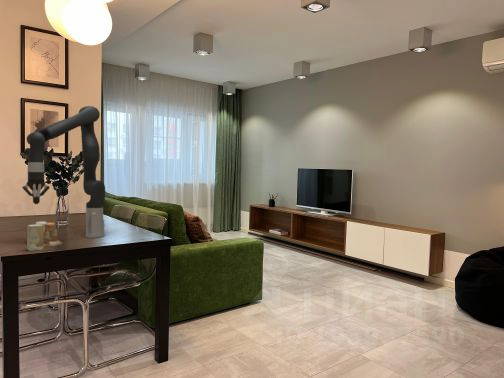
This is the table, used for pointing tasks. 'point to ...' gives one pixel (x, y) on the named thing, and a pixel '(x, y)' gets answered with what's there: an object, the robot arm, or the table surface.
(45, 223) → the white plug
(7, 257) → the table surface
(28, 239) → the skincare box
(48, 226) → the rust plug
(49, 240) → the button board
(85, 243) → the table surface
